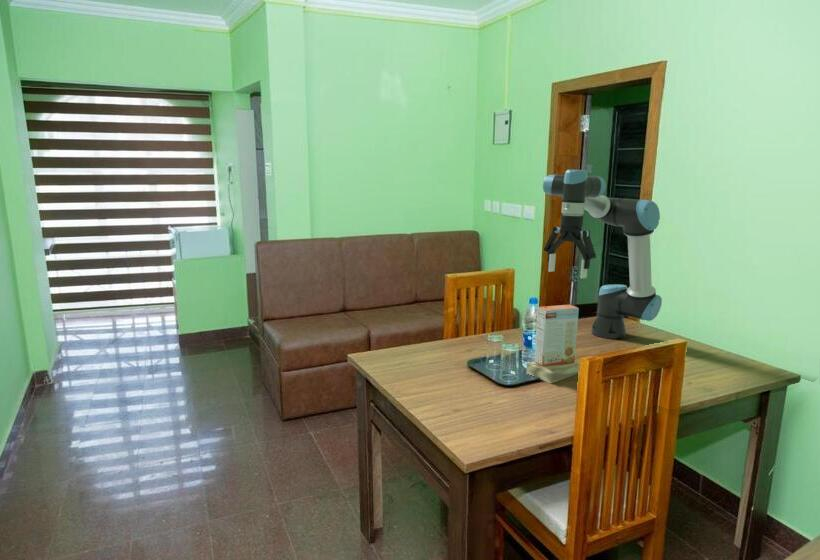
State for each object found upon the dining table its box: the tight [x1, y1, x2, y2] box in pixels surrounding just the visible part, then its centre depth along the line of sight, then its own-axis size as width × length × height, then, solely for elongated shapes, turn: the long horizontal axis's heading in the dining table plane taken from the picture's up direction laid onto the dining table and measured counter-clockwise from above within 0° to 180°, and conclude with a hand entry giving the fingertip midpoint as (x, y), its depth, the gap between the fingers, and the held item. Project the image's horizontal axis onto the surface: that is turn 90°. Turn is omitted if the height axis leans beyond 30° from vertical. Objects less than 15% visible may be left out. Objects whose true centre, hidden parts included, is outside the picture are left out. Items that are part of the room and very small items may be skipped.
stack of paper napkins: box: [525, 360, 580, 384], centre depth 199 cm, size 11×17×4 cm, turn 128°
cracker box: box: [533, 304, 580, 366], centre depth 197 cm, size 14×6×21 cm, turn 110°
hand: (566, 274), depth 194 cm, fingers open, 13 cm apart
